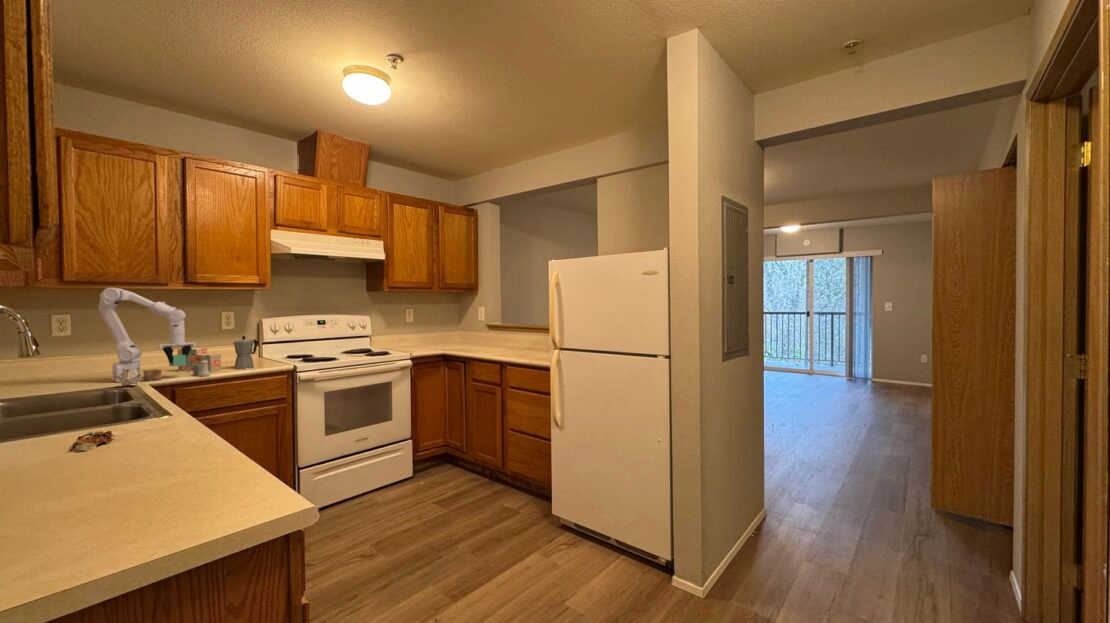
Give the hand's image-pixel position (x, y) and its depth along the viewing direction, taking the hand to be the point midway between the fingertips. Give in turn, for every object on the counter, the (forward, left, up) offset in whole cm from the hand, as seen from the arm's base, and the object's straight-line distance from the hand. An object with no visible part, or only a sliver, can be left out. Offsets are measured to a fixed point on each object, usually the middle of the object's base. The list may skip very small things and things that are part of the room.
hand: (177, 362), depth 229 cm
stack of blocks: (+16, +17, -8) cm, 25 cm away
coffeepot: (+35, +8, -8) cm, 37 cm away
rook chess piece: (+8, -8, -8) cm, 14 cm away
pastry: (-62, -116, -8) cm, 132 cm away
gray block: (+10, 0, -8) cm, 13 cm away
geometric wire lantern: (-22, -12, -8) cm, 26 cm away
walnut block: (-10, 0, -8) cm, 13 cm away
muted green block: (0, 0, -2) cm, 2 cm away
